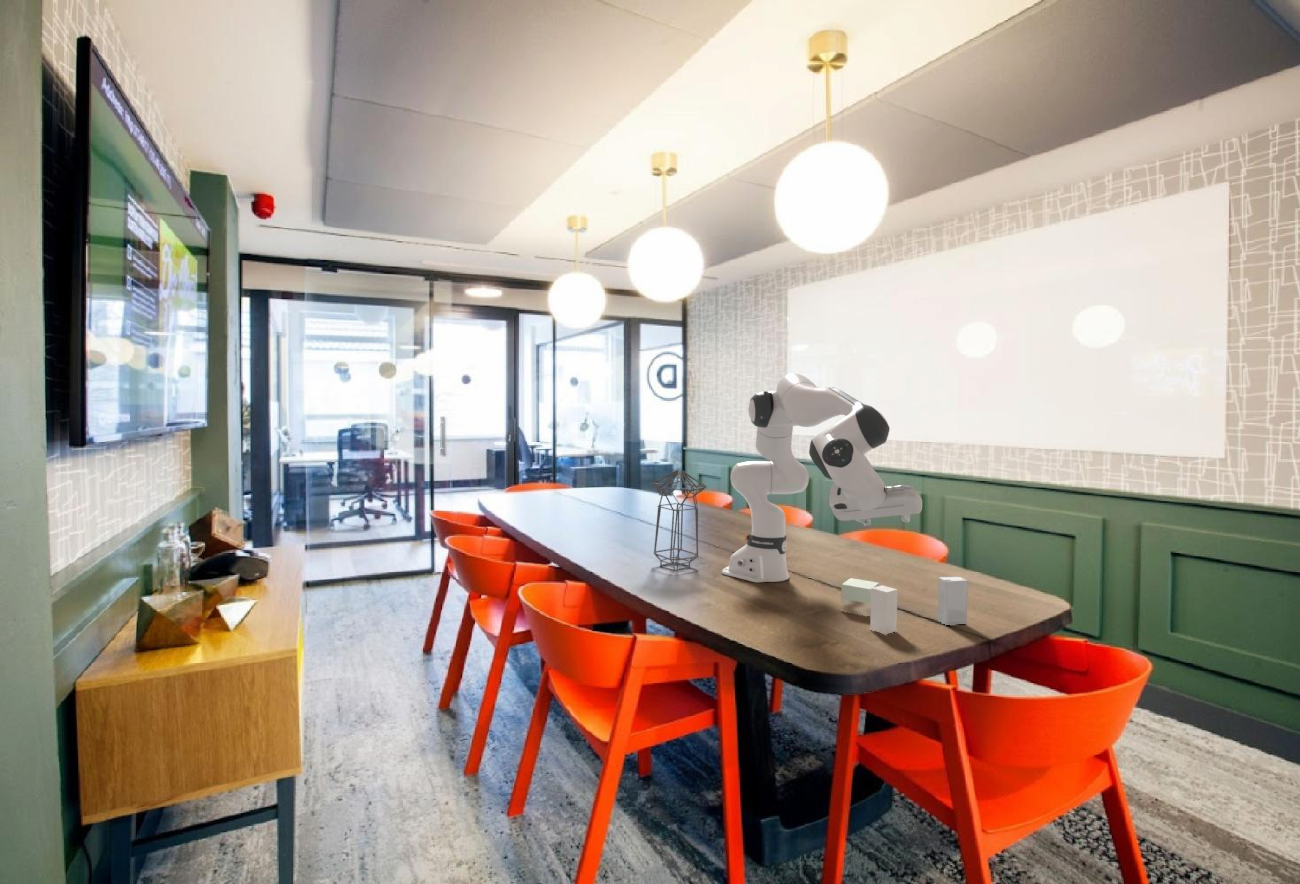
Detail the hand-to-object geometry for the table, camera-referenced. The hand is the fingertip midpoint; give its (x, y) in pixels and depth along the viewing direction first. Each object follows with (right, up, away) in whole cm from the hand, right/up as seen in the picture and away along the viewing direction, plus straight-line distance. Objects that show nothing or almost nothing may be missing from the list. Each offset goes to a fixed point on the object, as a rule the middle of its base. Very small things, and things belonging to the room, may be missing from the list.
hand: (887, 521), depth 152 cm
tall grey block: (+2, -29, +7) cm, 30 cm away
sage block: (+1, -24, +23) cm, 34 cm away
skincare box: (+22, -29, +13) cm, 39 cm away
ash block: (+1, -28, +24) cm, 37 cm away
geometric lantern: (-48, -25, +70) cm, 88 cm away
